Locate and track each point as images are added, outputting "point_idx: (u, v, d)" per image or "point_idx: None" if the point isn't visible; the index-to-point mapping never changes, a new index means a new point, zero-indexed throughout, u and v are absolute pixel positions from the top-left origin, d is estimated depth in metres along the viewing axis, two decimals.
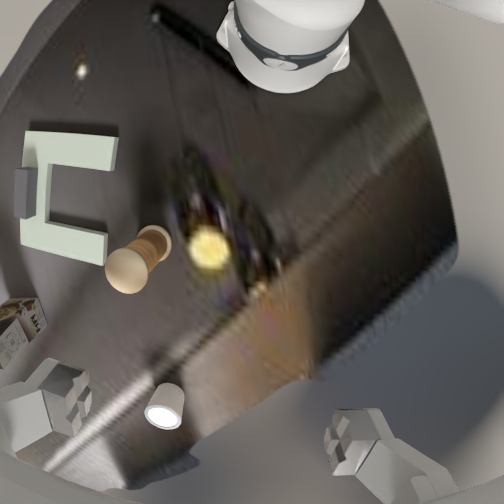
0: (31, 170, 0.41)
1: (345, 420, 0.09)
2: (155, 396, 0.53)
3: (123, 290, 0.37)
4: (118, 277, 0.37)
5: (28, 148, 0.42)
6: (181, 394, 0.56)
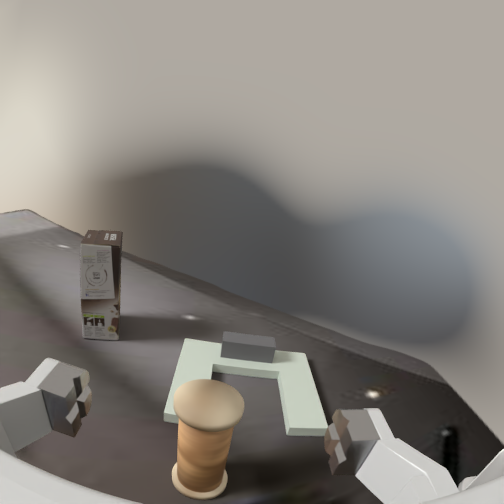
0: (273, 353, 0.48)
1: (345, 420, 0.09)
2: None
3: (177, 394, 0.23)
4: (198, 391, 0.24)
5: (288, 355, 0.51)
6: None
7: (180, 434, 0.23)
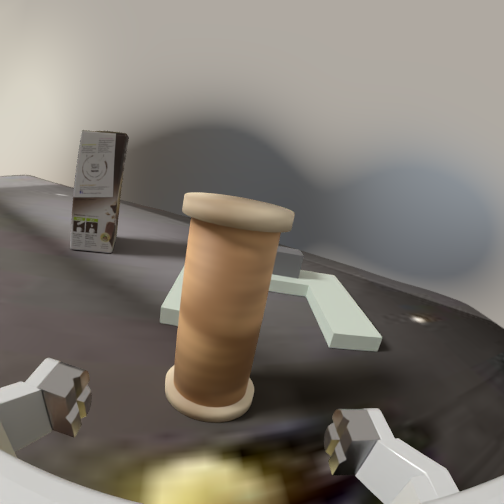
0: (300, 263, 0.40)
1: (345, 420, 0.09)
2: None
3: (191, 194, 0.16)
4: (223, 197, 0.17)
5: (316, 275, 0.44)
6: None
7: (187, 269, 0.16)
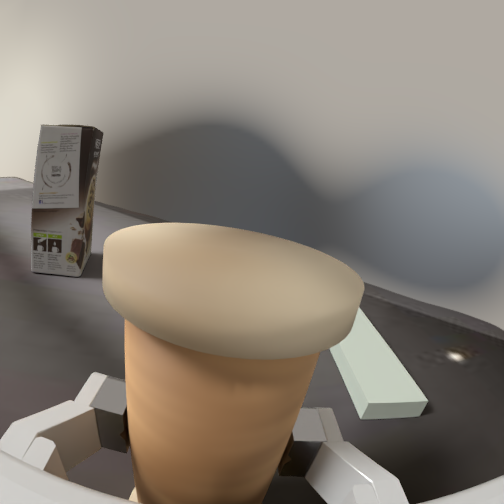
0: None
1: None
2: None
3: (126, 233, 0.07)
4: (199, 237, 0.08)
5: None
6: None
7: (128, 395, 0.07)
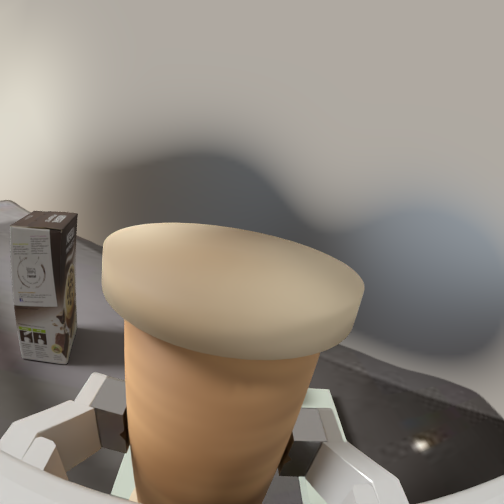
0: None
1: None
2: None
3: (126, 233, 0.07)
4: (199, 237, 0.08)
5: (307, 394, 0.34)
6: None
7: (127, 395, 0.07)
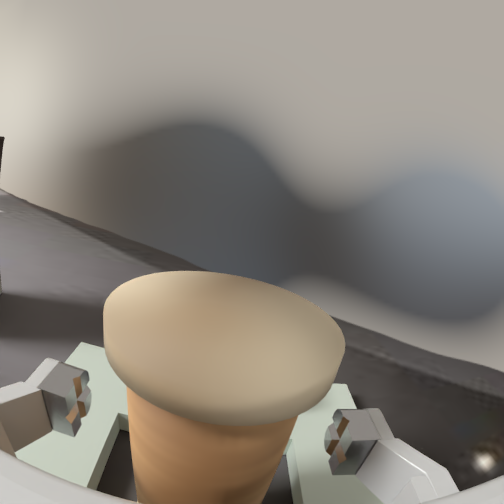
0: None
1: (345, 420, 0.09)
2: None
3: (123, 292, 0.07)
4: (192, 293, 0.08)
5: None
6: None
7: (131, 433, 0.07)
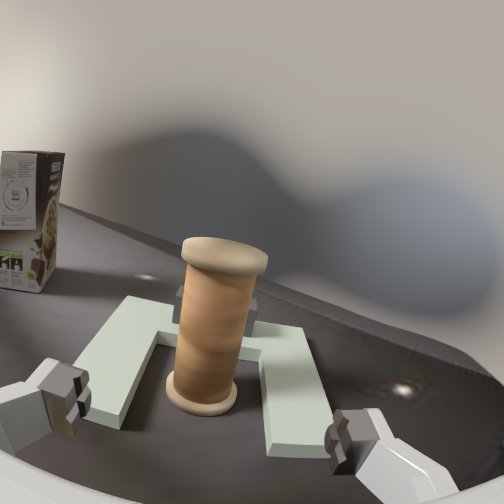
0: (253, 320, 0.31)
1: (345, 420, 0.09)
2: None
3: (188, 241, 0.21)
4: (213, 243, 0.22)
5: (277, 329, 0.35)
6: None
7: (185, 299, 0.21)
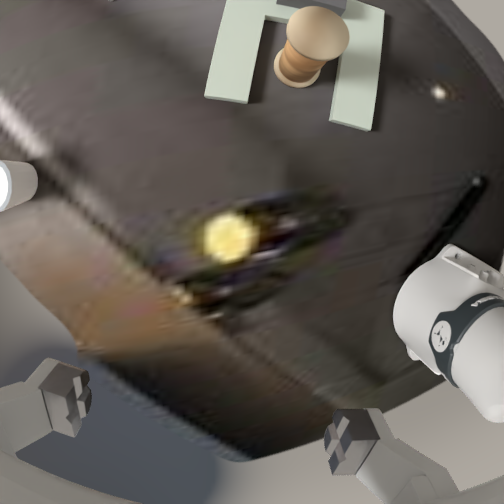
0: (342, 12, 0.29)
1: (345, 420, 0.09)
2: (19, 169, 0.32)
3: (291, 23, 0.23)
4: (310, 21, 0.23)
5: (363, 10, 0.31)
6: (26, 200, 0.36)
7: (289, 49, 0.26)
